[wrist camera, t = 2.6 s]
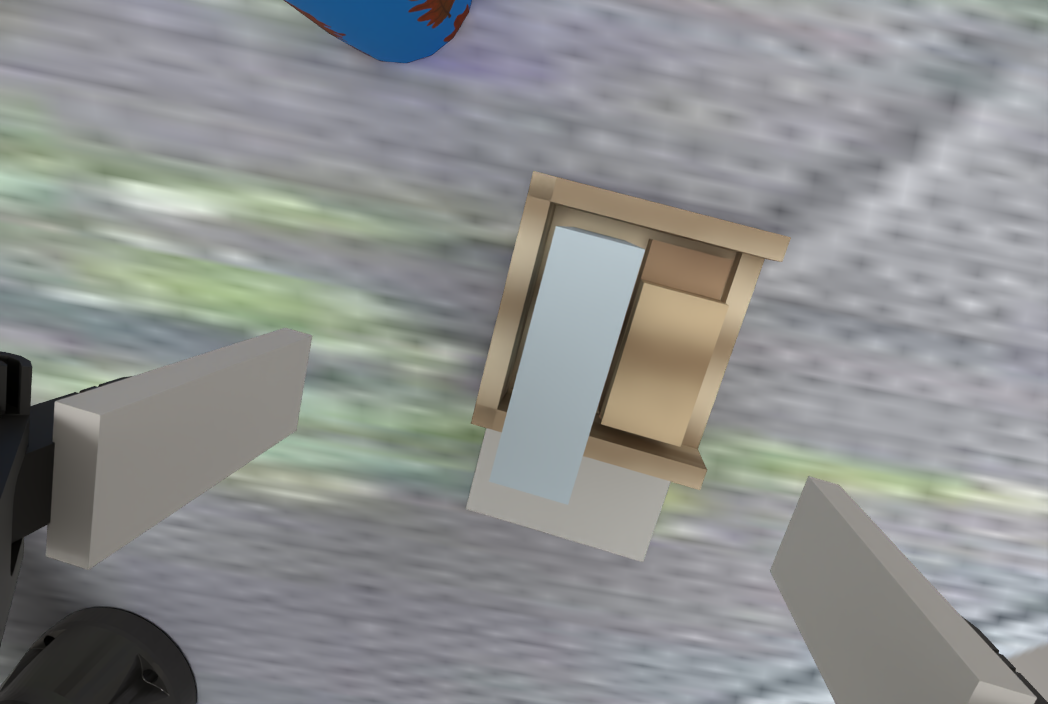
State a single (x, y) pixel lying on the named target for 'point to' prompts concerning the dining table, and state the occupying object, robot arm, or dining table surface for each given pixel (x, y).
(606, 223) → the box
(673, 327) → the offcut
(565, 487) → the pale blue block
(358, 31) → the thermos
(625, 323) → the offcut
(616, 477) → the mat
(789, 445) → the dining table surface
